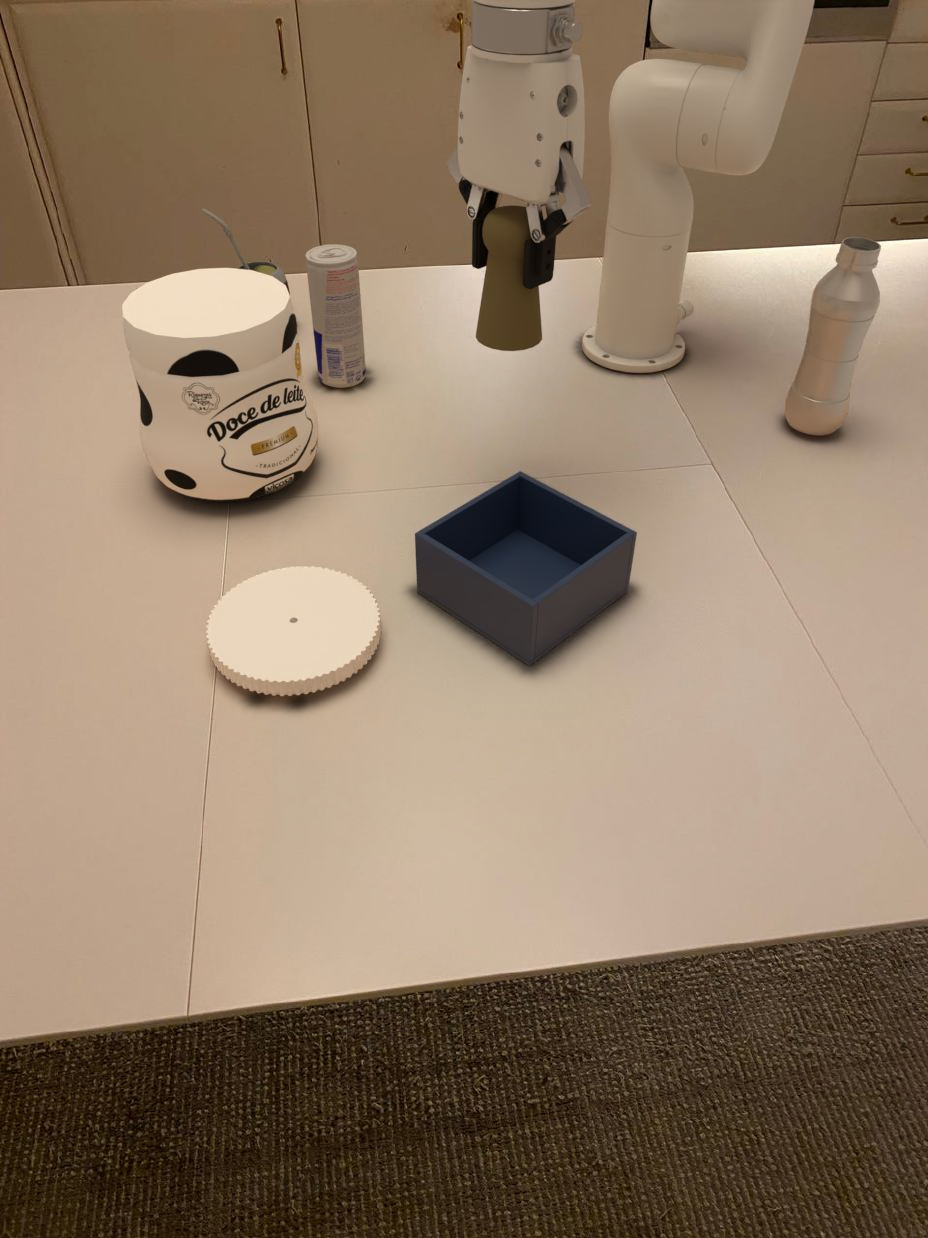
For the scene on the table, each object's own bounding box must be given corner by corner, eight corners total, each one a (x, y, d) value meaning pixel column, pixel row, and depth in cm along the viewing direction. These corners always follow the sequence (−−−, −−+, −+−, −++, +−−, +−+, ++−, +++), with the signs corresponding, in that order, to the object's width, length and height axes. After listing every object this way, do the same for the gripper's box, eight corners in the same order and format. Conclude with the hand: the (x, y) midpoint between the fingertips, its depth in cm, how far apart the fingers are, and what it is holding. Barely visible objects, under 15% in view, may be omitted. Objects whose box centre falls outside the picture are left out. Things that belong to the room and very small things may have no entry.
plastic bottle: (809, 449, 101) (862, 262, 88) (766, 419, 106) (811, 238, 92) (854, 434, 104) (913, 250, 90) (810, 406, 108) (860, 227, 95)
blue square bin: (517, 528, 91) (519, 470, 86) (628, 591, 84) (637, 532, 80) (416, 592, 84) (414, 533, 79) (529, 666, 77) (533, 606, 73)
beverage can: (374, 373, 114) (366, 247, 103) (351, 394, 110) (340, 265, 100) (334, 363, 115) (322, 239, 105) (309, 384, 111) (295, 256, 101)
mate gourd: (303, 333, 121) (289, 212, 111) (246, 349, 118) (226, 226, 108) (277, 312, 126) (261, 194, 116) (221, 327, 122) (200, 207, 112)
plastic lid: (385, 587, 84) (383, 564, 83) (377, 703, 74) (375, 680, 72) (226, 588, 84) (221, 566, 82) (196, 706, 74) (190, 683, 72)
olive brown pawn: (536, 354, 83) (544, 225, 76) (469, 347, 84) (470, 218, 77) (547, 325, 87) (555, 200, 80) (482, 318, 88) (485, 194, 81)
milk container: (293, 526, 91) (267, 351, 79) (123, 508, 93) (72, 334, 81) (341, 432, 103) (325, 269, 91) (191, 418, 106) (155, 256, 94)
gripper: (646, 40, 67) (617, 290, 79) (475, 7, 76) (472, 236, 88) (578, 56, 63) (558, 317, 75) (406, 19, 72) (412, 258, 84)
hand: (511, 271), depth 82 cm, fingers closed on olive brown pawn, 5 cm apart
